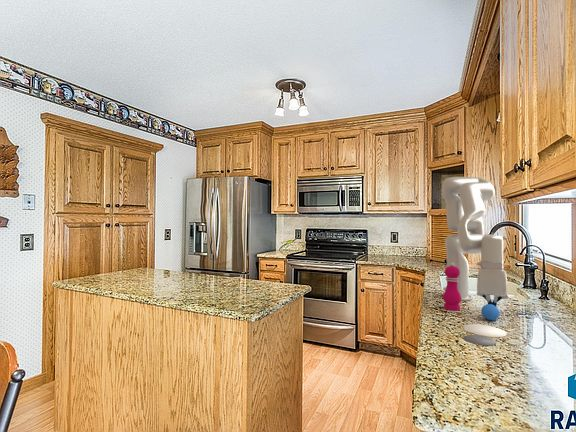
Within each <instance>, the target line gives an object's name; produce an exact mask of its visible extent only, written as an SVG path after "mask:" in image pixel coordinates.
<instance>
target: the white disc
mask: <svg viewBox="0 0 576 432" xmlns="http://www.w3.org/2000/svg"><path fill="white" fill-rule="evenodd" d="M462 329H463V330H464V331H466V332H468V333H470V334H472V335H479V336H484V337H488V338H504V337H507V334H508V333H507V332H506V331H505V330H503V329H501V328H498V327H495V326H491V325H485V324H481V323H479V324H478V323H469V324H465V325H463V326H462Z"/></svg>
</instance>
